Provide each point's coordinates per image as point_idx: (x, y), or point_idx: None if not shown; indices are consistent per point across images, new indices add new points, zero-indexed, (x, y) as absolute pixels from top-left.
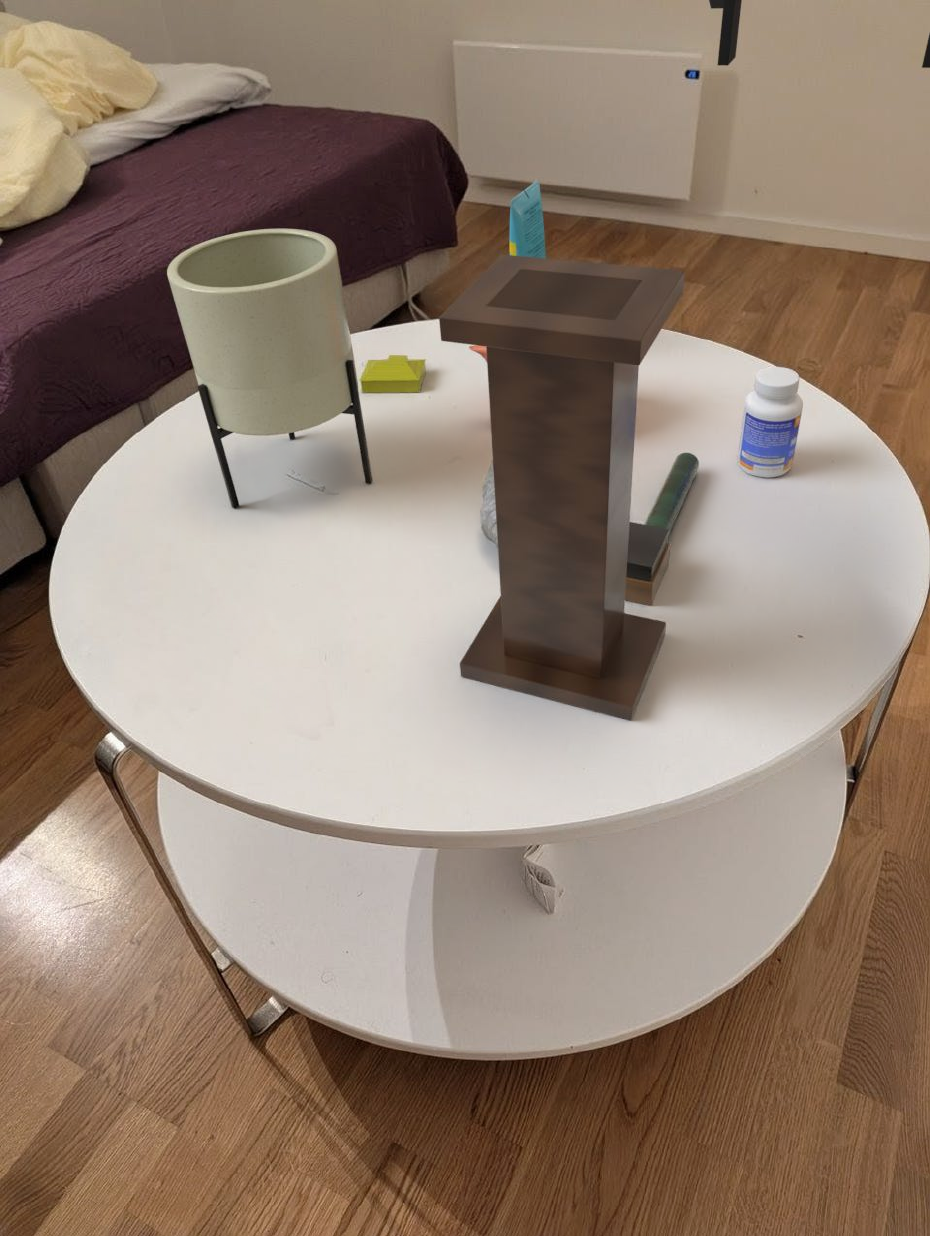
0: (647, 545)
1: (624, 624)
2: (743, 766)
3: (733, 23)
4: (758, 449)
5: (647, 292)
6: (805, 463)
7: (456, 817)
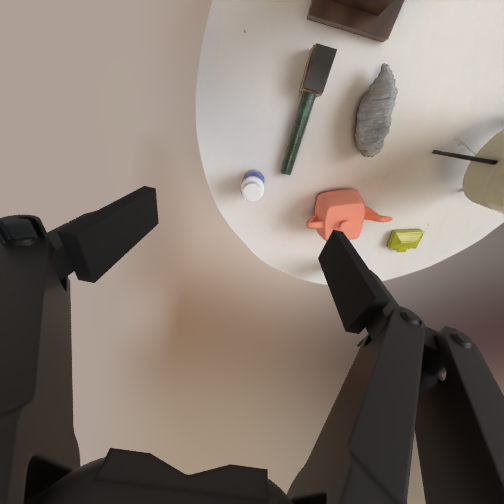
0: (316, 68)
1: (330, 7)
2: None
3: (341, 253)
4: (257, 173)
5: None
6: (238, 183)
7: None
